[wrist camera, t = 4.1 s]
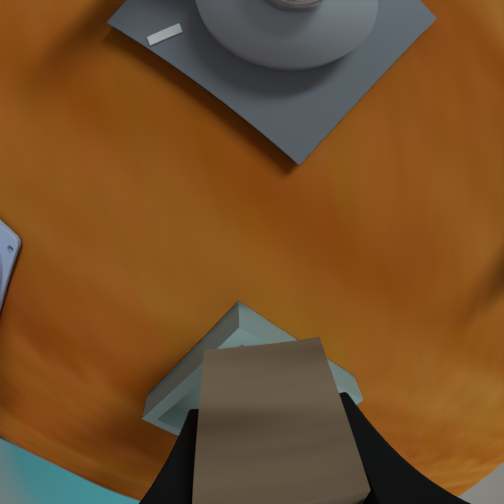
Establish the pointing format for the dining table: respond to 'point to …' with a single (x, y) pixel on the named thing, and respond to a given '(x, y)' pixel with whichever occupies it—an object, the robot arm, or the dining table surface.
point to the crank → (294, 4)
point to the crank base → (273, 92)
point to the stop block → (274, 429)
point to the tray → (191, 366)
